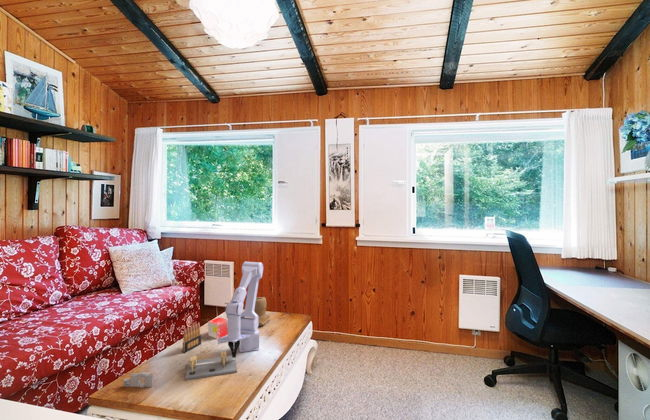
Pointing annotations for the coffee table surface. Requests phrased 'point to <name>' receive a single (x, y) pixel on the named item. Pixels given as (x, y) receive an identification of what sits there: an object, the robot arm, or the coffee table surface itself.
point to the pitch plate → (209, 367)
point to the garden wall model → (136, 382)
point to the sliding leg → (223, 358)
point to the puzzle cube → (218, 327)
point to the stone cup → (261, 310)
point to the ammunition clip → (191, 338)
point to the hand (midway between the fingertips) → (233, 356)
